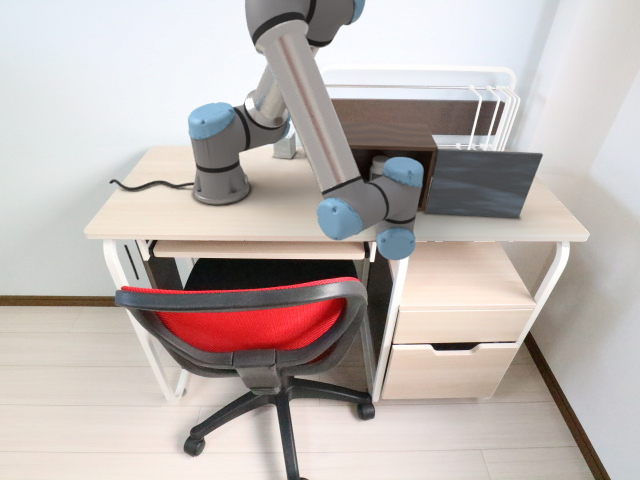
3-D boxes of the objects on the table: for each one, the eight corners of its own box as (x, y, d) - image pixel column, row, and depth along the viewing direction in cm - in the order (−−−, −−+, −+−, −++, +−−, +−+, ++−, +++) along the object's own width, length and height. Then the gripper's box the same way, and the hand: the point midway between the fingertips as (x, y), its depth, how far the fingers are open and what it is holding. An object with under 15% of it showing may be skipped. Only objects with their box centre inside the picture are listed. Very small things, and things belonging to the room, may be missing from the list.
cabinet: (424, 211, 103) (438, 147, 92) (334, 208, 103) (337, 144, 92) (415, 182, 115) (425, 123, 105) (335, 180, 116) (337, 121, 105)
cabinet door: (422, 201, 106) (434, 140, 96) (511, 205, 105) (533, 144, 95) (425, 213, 101) (439, 150, 91) (518, 218, 100) (543, 154, 90)
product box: (296, 152, 132) (295, 131, 127) (291, 159, 127) (290, 138, 123) (279, 150, 133) (278, 129, 128) (273, 157, 128) (272, 136, 124)
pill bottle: (392, 193, 108) (396, 160, 102) (376, 198, 105) (380, 165, 99) (379, 185, 112) (383, 152, 106) (363, 189, 109) (366, 157, 103)
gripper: (333, 219, 90) (333, 177, 107) (440, 222, 90) (423, 179, 107) (334, 191, 86) (334, 152, 103) (447, 194, 85) (428, 154, 102)
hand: (380, 166), depth 105 cm, fingers open, 13 cm apart
